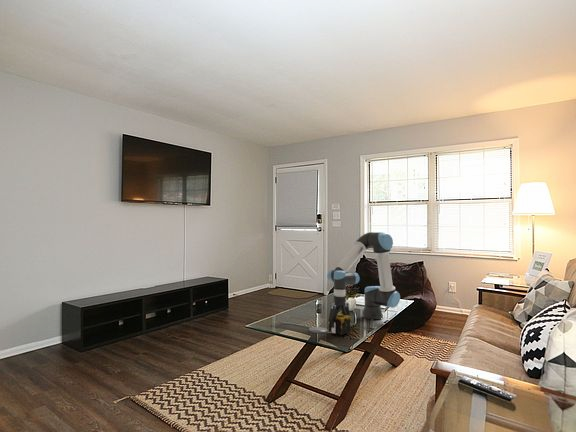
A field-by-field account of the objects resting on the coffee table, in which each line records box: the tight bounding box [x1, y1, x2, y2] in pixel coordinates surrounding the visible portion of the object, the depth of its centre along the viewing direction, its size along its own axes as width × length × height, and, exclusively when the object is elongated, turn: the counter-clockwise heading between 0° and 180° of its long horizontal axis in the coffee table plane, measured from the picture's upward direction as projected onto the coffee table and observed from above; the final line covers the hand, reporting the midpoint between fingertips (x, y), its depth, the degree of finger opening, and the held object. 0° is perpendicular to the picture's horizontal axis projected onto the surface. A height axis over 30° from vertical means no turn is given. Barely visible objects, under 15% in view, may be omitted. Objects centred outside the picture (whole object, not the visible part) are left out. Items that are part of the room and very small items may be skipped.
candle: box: [328, 312, 352, 336], centre depth 213 cm, size 10×10×10 cm
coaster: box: [308, 326, 329, 334], centre depth 220 cm, size 12×12×1 cm
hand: (339, 331), depth 213 cm, fingers closed on candle, 10 cm apart
